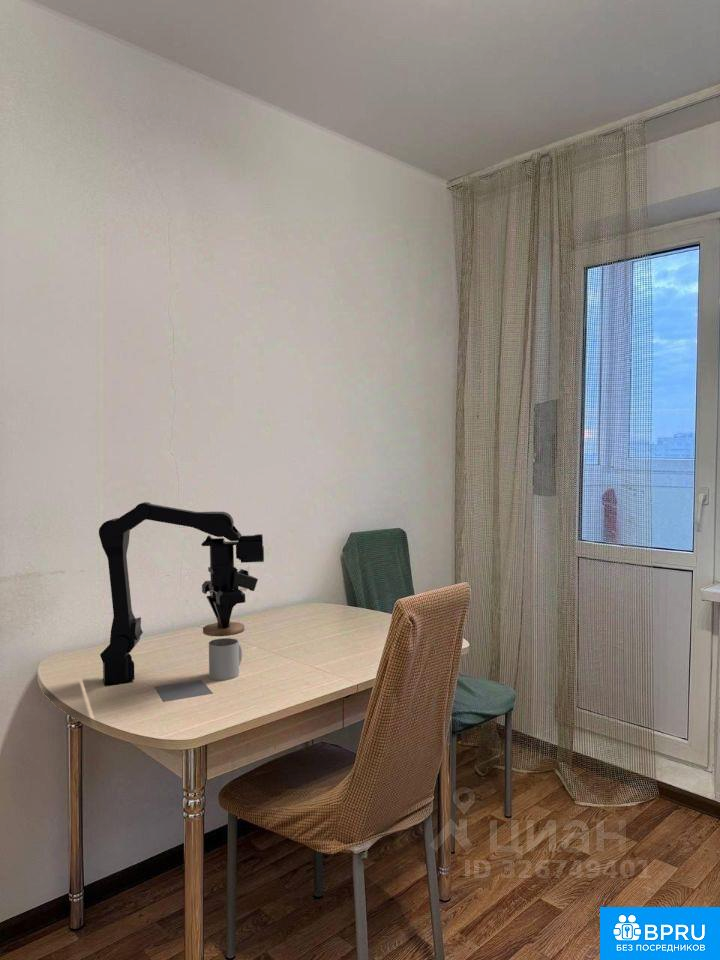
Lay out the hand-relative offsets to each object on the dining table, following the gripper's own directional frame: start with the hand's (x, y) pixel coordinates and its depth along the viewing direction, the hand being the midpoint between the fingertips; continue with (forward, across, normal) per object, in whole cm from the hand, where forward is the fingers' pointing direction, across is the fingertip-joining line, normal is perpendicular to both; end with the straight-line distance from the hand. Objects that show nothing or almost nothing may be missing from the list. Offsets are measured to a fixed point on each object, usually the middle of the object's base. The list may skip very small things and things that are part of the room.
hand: (223, 626), depth 165 cm
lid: (+1, 0, 0) cm, 1 cm away
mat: (+13, -6, +11) cm, 18 cm away
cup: (+13, +1, -1) cm, 13 cm away
